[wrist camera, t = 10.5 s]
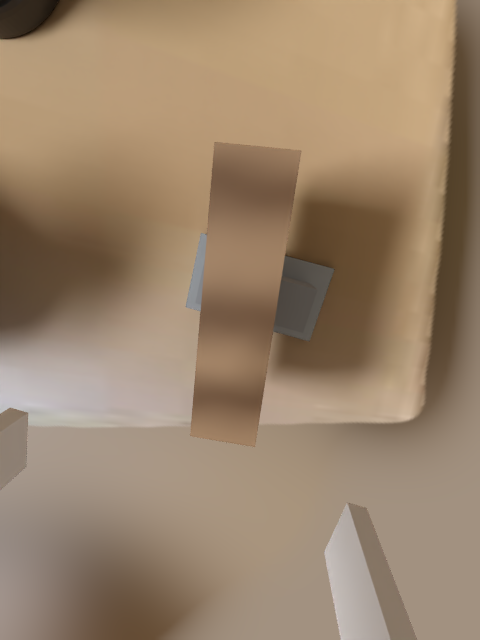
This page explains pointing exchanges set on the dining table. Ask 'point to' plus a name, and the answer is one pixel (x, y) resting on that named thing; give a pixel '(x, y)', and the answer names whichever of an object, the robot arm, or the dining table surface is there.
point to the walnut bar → (241, 286)
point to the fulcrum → (281, 293)
